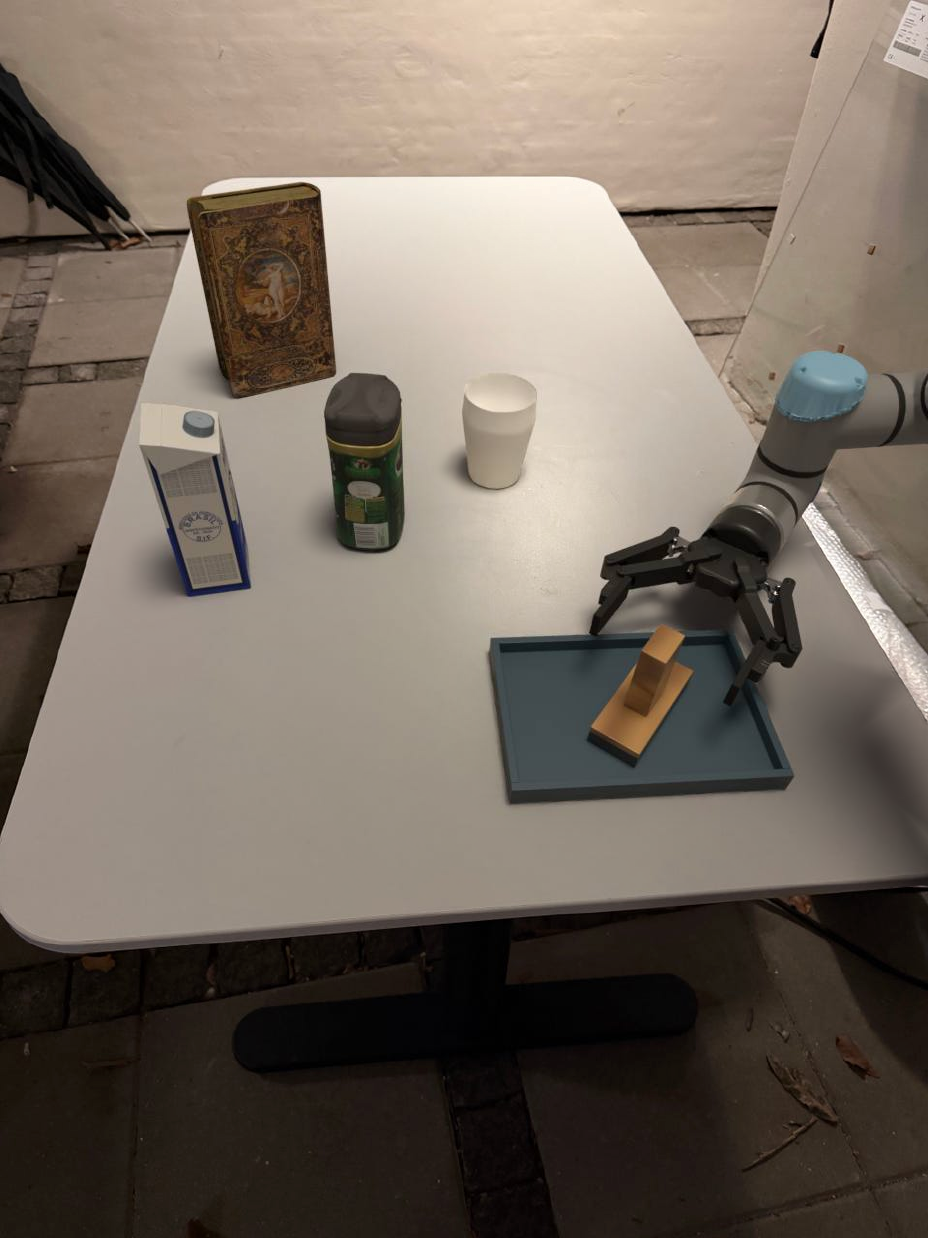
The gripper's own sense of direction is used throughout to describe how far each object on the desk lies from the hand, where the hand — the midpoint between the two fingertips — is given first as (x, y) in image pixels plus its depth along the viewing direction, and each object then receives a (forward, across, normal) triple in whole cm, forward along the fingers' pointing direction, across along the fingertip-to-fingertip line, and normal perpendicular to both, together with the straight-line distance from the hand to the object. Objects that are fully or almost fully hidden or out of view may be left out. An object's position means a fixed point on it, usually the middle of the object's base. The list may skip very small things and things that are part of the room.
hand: (660, 659), depth 70 cm
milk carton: (+11, +47, -8) cm, 49 cm away
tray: (+1, +1, -8) cm, 8 cm away
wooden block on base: (+1, 0, -7) cm, 7 cm away
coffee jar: (-5, +39, -8) cm, 40 cm away
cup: (-23, +33, -8) cm, 41 cm away
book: (-23, +70, -8) cm, 74 cm away
